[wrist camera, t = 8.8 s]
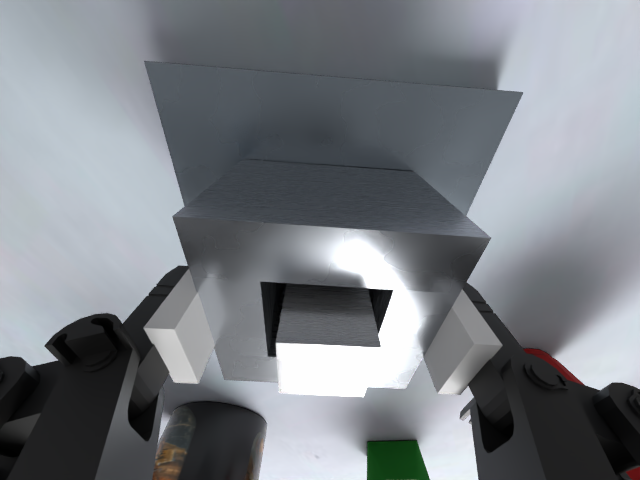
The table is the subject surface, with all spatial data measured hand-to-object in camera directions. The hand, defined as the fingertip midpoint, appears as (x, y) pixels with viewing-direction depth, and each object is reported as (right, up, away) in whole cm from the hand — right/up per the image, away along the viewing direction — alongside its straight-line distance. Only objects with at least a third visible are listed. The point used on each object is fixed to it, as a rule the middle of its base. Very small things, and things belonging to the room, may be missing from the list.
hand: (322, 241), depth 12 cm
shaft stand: (0, +1, +2) cm, 2 cm away
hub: (0, 0, 0) cm, 0 cm away
